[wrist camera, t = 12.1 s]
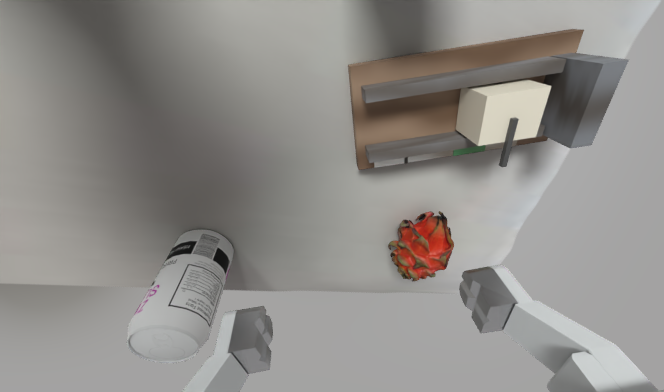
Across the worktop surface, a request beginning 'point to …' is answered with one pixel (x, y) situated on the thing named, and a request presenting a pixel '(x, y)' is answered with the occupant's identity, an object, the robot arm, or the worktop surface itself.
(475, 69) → the base
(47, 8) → the worktop surface
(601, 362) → the robot arm
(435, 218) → the dragon fruit
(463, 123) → the cream block with rod
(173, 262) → the supplement can
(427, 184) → the worktop surface
